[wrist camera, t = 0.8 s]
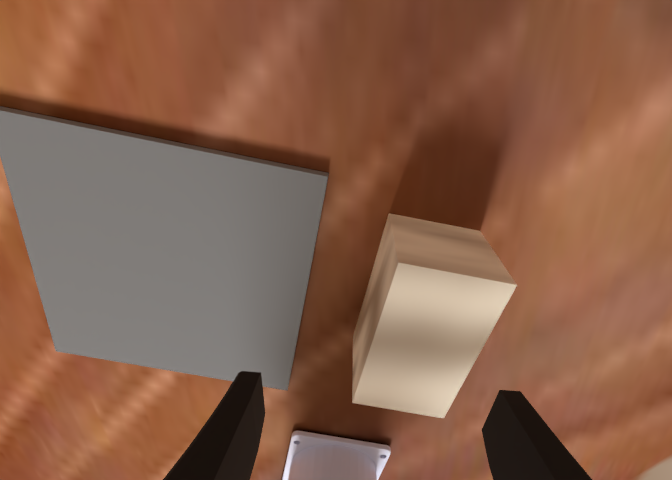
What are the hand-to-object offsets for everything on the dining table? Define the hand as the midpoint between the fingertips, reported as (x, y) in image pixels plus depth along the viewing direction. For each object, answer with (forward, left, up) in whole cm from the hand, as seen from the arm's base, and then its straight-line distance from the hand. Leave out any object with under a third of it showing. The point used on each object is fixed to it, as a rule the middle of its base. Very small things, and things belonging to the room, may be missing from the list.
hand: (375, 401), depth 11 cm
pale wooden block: (-2, -3, -10) cm, 11 cm away
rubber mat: (-4, +11, -10) cm, 15 cm away
